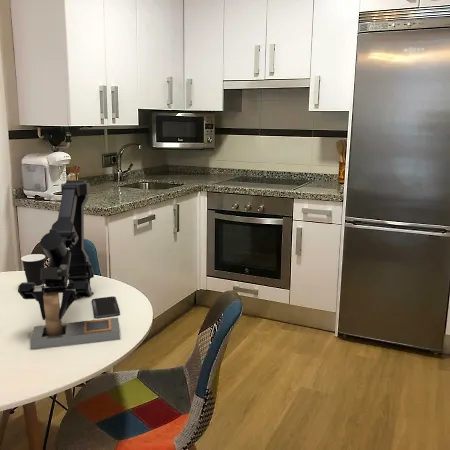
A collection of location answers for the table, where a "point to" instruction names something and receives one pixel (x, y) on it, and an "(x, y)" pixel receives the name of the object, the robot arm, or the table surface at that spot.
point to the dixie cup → (33, 268)
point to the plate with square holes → (77, 333)
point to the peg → (52, 314)
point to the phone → (105, 307)
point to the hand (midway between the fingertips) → (51, 319)
